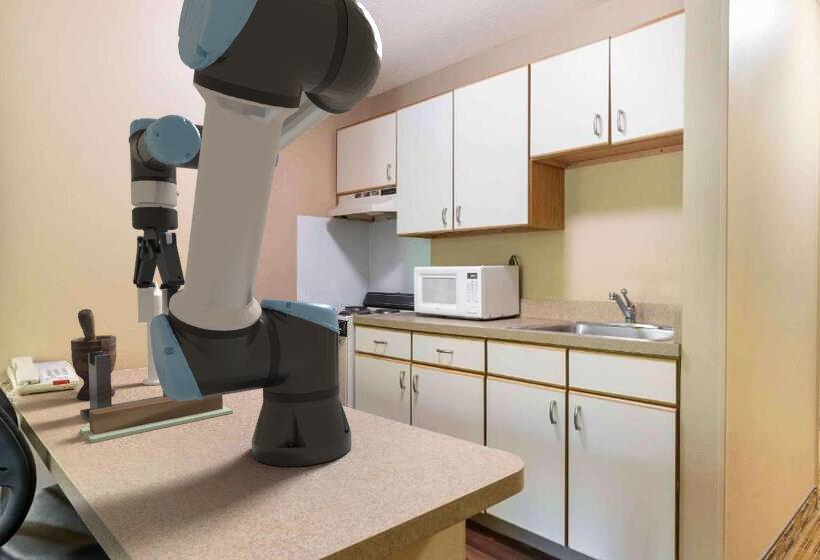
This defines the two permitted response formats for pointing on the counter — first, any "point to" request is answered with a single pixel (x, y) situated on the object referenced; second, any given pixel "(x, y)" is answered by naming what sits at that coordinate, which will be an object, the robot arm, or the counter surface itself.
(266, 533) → the counter surface
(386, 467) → the counter surface
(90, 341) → the mortar and pestle
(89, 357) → the rack
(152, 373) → the candle
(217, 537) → the counter surface
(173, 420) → the mat
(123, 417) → the rail
